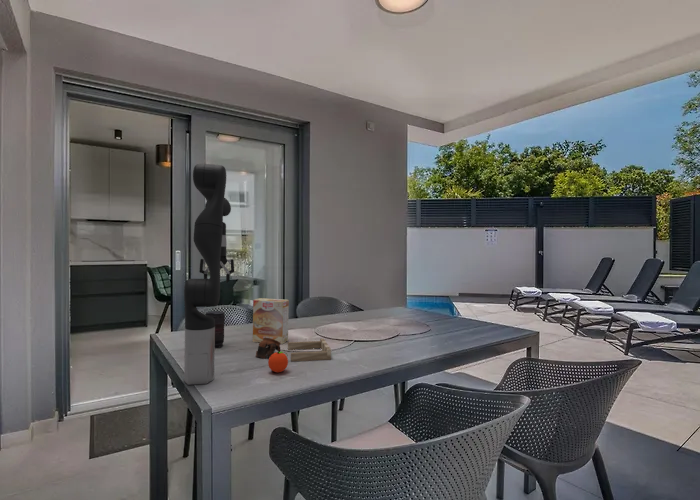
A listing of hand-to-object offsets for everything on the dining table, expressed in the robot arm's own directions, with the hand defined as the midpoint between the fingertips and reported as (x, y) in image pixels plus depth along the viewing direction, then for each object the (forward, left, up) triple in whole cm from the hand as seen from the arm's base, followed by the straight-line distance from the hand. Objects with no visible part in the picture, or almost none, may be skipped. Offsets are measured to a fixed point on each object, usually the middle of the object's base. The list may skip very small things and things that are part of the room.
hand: (216, 282), depth 169 cm
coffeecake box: (+5, -24, -28) cm, 37 cm away
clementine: (-39, -26, -28) cm, 54 cm away
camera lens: (0, 0, -28) cm, 28 cm away
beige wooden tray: (-19, -38, -28) cm, 50 cm away
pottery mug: (-19, -22, -28) cm, 40 cm away
